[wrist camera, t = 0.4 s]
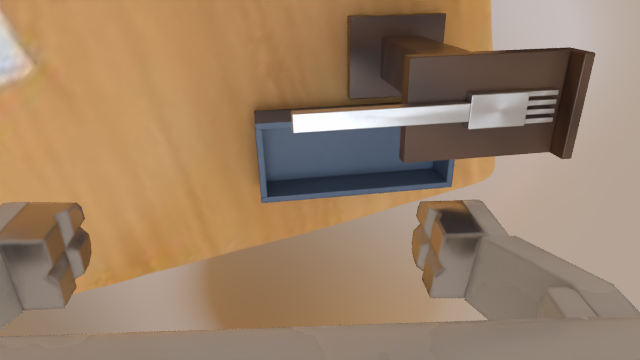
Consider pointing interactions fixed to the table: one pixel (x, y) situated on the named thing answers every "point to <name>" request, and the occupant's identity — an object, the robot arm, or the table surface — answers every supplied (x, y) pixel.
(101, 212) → the table surface
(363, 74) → the stand
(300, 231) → the table surface
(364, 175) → the bin
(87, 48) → the table surface
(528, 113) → the fork
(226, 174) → the table surface
